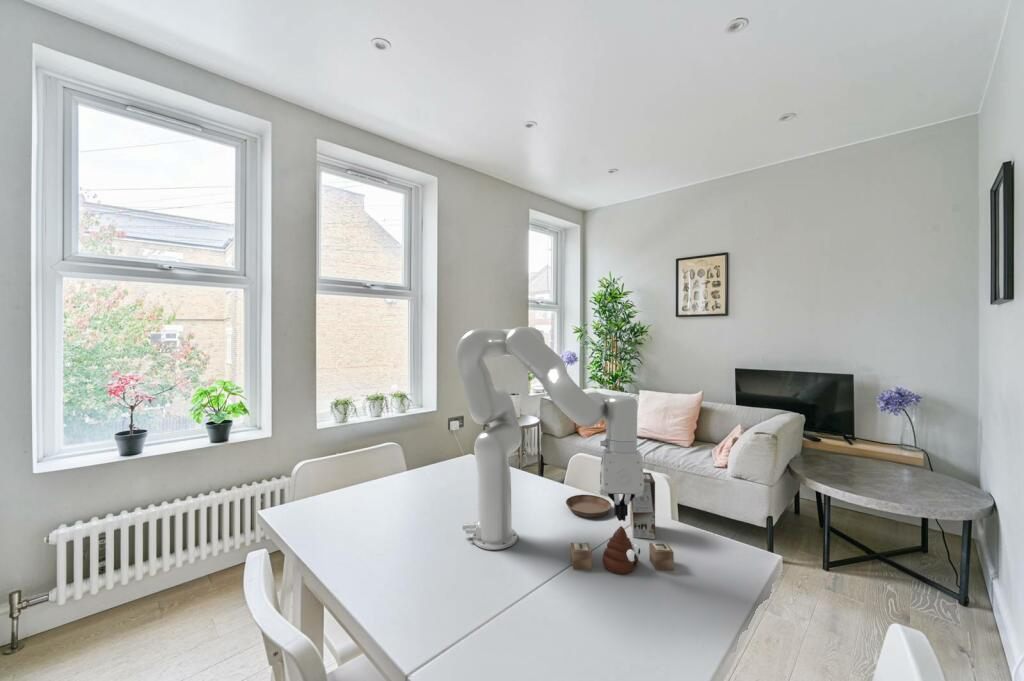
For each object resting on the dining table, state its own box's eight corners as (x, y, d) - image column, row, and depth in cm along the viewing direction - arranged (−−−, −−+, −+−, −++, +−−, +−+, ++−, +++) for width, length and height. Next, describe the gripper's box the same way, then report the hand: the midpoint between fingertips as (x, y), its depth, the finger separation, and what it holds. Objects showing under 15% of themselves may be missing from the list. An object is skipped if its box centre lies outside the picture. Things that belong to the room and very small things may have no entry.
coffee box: (656, 539, 116) (655, 482, 116) (632, 537, 117) (631, 481, 117) (651, 525, 125) (651, 472, 125) (629, 523, 126) (629, 471, 126)
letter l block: (655, 570, 101) (655, 550, 101) (649, 560, 105) (649, 541, 105) (673, 570, 101) (673, 550, 101) (667, 560, 105) (667, 541, 105)
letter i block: (573, 570, 102) (572, 550, 102) (570, 560, 106) (570, 541, 106) (591, 570, 101) (591, 550, 101) (588, 560, 106) (588, 541, 106)
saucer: (620, 513, 135) (620, 504, 135) (588, 525, 126) (588, 516, 126) (588, 498, 147) (588, 491, 147) (556, 508, 138) (556, 500, 138)
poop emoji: (612, 551, 110) (611, 516, 110) (644, 561, 105) (643, 524, 105) (596, 569, 102) (596, 531, 102) (630, 580, 97) (630, 540, 97)
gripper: (594, 449, 100) (593, 524, 100) (656, 450, 99) (655, 525, 100) (589, 441, 107) (588, 511, 108) (647, 442, 107) (646, 512, 107)
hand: (620, 518), depth 104 cm, fingers closed
